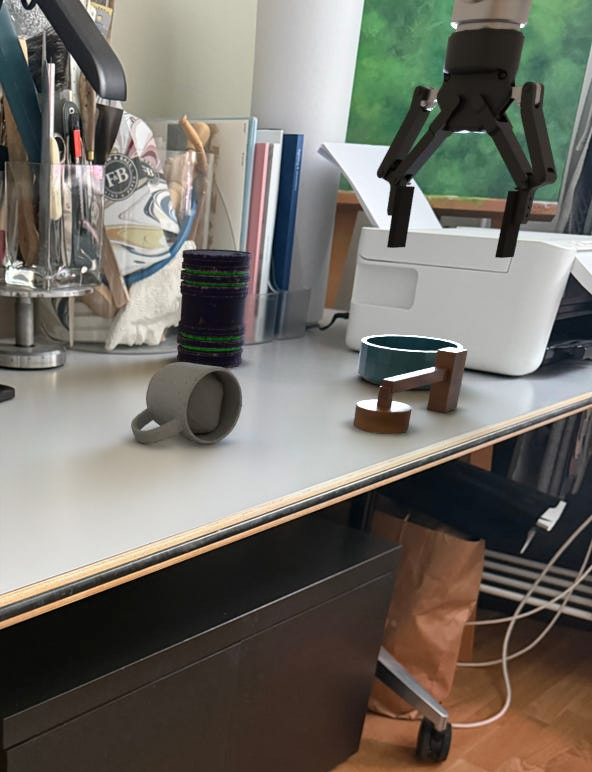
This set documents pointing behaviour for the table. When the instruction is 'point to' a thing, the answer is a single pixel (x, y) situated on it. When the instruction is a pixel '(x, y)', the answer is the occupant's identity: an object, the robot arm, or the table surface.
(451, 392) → the wooden crane toy
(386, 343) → the bowl
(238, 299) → the storage jar
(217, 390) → the ceramic mug
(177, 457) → the table surface
